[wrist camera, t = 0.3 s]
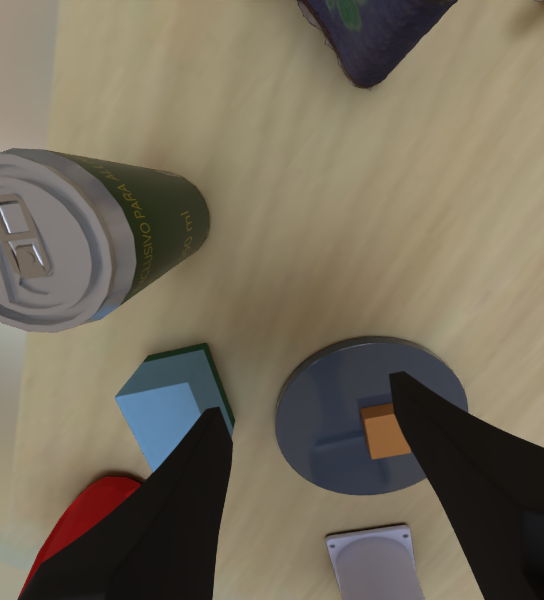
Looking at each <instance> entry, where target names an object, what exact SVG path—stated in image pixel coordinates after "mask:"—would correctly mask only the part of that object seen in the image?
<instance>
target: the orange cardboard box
mask: <svg viewBox="0 0 544 600" xmlns="http://www.w3.org/2000/svg"><path fill="white" fill-rule="evenodd" d="M360 410H361V416H362V421H363V426H364V431H365V437H366V442H367V447H368V450H369V453H370V456H371V459H379V458H384V457H390V456H396V455H402V454H408V453H411V451H410V447H409V445H408V443H407V442H406V440H405V438H404V436H403V434H402V431H401V429H400V427H399V424H398V422H397V420H396V417H395V415H394V409H393V403H389V404H383V405H378V406H373V407H367V408H362V409H360Z"/></svg>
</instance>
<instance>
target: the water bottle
mask: <svg viewBox="0 0 544 600" xmlns="http://www.w3.org/2000/svg"><path fill="white" fill-rule="evenodd" d="M140 486H141V484H140V483H138V482H136V481H134V480H132V479H130V478H128V477H104V478H102V479H100V480H98V481H96V482H94V483H92V484H91V485H90V486H89V487H87V488H86V489H85V490H84V491H83V492H82V493H81V494H80V495H79V496H78V498H77V499H76V500H75V501H74V502H73V503H72V504H71V505H70V506H69V507H68V509H67V510H66V511H65V513H64V514H63V515H62V517H61V518H60V519H59V521H58V522H57V524H56V526H55V527H54V529H53V530H52V532H51V534H50V535H49V537H48V538H47V540H46V541H45V543H44V545H43V546H42V548H41V549H40V551H39V553H38V555H37V557H36V559H35V562H34V564H33V566H32V568H31V570H30V573H29V575H28V577H27V579H26V582H25V584H24V586H23V588H22V591H21V593H20V595H21V594H22V592H23V591H24V589H25V587H26V586H27V584H28V583H29V581H30V580H31V578H32V577H33V575H34V573H35V572H36V570H37V569H38V567H39V566H40V564H41V563H42V562H44V561H45V560H47V559H48V558H50V557H51V556H53V555H54V554H56V553H57V552H59V551H60V550H61V549H63V548H64V547H66V546H67V545H69V544H70V543H72V542H73V541H74V540H76V539H77V538H79V537H80V536H81V535H83V534H84V533H85V532H87V531H88V530H89V529H90V528H92V527H93V526H94V525H96V524H97V523H98V522H99V521H101V520H102V519H103V518H104V517H106V516H107V515H108V514H109V513H111V512H112V511H113V510H114V509H115V508H116V507H117V506H119V505H120V504H121V503H122V502H123V501H124V500H125V499H126V498H128V497H129V496H130V495H131V494H132V493H133V492H134V491H135V490H136V489H137V488H139V487H140ZM20 595H19V597H20ZM19 597H18V598H19Z"/></svg>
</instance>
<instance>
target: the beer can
mask: <svg viewBox="0 0 544 600" xmlns="http://www.w3.org/2000/svg"><path fill="white" fill-rule="evenodd" d="M208 228H209V213H208V210H207V207H206V204H205V201H204V199H203V197H202V196H201V194H200V193H199V191H198V190H197V189H196V187H195V186H194V185H192V184H191V183H190V182H189V181H187V180H186V179H185V178H183V177H181V176H178V175H176V174H173V173H171V172H166V171H160V170H155V169H149V168H143V167H138V166H132V165H126V164H121V163H115V162H110V161H104V160H98V159H93V158H87V157H82V156H76V155H70V154H65V153H59V152H54V151H48V150H40V149H17V148H15V149H14V148H12V149H9V150H6V151H3V152H1V153H0V322H1V323H3V324H6V325H9V326H13V327H16V328H19V329H22V330H25V331H28V332H49V333H55V332H59V331H62V330H66V329H70V328H74V327H77V326H78V325H82V324H86V323H89V322H93V321H97V320H100V319H102V318H103V317H105V316H106V315H107V314H109V313H110V312H112V311H113V310H115V309H116V308H117V307H119V306H120V305H122V304H123V303H124V302H126V301H127V300H129V299H130V298H131V297H133V296H134V295H136V294H137V293H138V292H140V291H141V290H143V289H144V288H145V287H147V286H148V285H149V284H151V283H152V282H154V281H155V280H156V279H158V278H159V277H161V276H162V275H163V274H165V273H166V272H168V271H169V270H170V269H172V268H173V267H175V266H176V265H177V264H179V263H180V262H182V261H183V260H184V259H186V258H187V257H188V256H190V255H191V254H193V253H194V252H195V251H197V250H198V249H199V248H200V246H201V245H202V243H203V242H204V240H205V239H206V235H207V232H208Z"/></svg>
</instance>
